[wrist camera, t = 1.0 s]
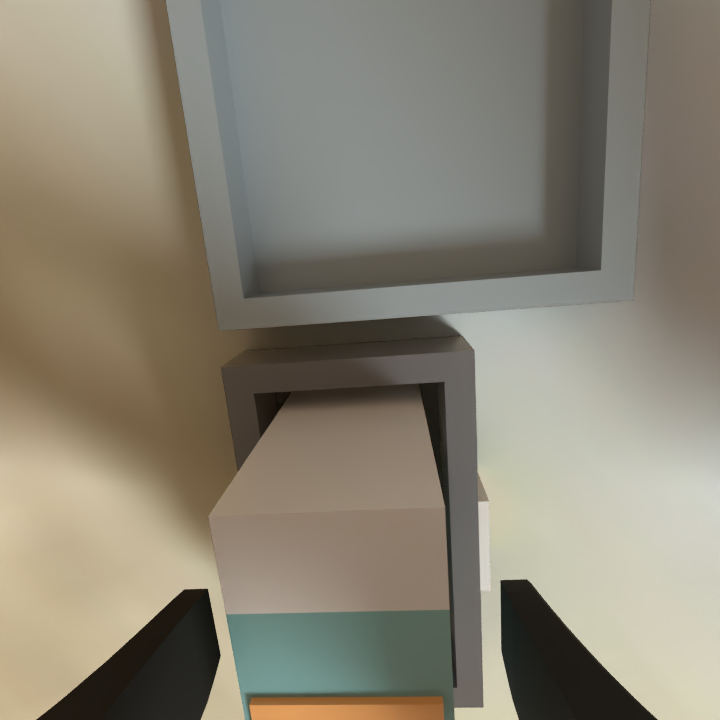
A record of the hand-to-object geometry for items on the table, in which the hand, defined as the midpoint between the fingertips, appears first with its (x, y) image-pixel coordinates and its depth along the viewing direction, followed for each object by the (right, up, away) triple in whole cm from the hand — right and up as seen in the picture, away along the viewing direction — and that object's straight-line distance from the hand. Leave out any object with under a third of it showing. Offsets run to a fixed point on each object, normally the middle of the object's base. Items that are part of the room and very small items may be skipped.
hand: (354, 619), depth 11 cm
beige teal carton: (0, +1, +4) cm, 5 cm away
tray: (+1, +15, +1) cm, 15 cm away
